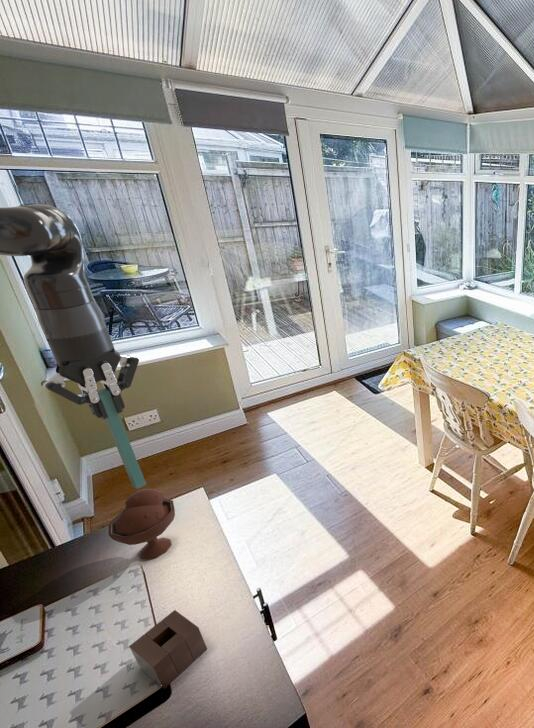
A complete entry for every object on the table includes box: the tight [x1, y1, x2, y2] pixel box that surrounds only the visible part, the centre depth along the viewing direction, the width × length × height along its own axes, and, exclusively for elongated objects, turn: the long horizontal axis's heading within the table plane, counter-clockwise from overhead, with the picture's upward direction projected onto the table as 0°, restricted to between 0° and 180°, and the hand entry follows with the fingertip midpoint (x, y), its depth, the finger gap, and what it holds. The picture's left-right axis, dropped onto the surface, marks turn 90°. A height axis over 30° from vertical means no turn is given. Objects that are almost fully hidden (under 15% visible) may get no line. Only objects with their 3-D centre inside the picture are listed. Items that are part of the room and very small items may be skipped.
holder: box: [128, 609, 208, 690], centre depth 70 cm, size 7×7×6 cm
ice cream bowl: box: [107, 488, 176, 561], centre depth 87 cm, size 11×11×15 cm
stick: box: [97, 388, 147, 490], centre depth 79 cm, size 2×2×22 cm
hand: (110, 414), depth 77 cm, fingers closed on stick, 1 cm apart
